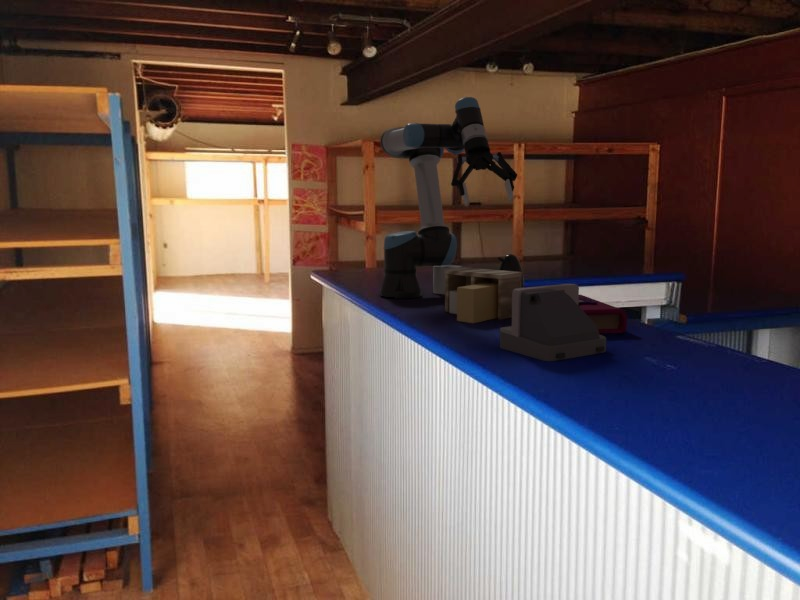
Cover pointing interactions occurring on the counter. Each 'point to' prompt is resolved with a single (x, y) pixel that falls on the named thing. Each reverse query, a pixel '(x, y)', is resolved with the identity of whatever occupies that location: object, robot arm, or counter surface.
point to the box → (453, 302)
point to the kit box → (477, 302)
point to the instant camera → (550, 324)
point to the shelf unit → (478, 276)
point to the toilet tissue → (441, 277)
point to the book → (604, 315)
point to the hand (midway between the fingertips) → (489, 202)
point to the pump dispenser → (511, 265)
